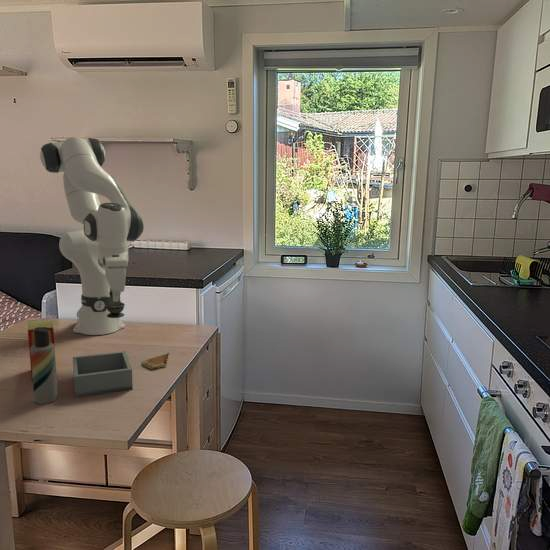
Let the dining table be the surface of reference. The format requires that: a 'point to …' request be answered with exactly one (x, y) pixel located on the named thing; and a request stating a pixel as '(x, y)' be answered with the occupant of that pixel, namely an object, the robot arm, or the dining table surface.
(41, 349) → the lotion bottle
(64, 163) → the robot arm
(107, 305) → the stone chess piece
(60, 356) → the dining table surface
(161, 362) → the shard
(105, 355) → the box
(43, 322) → the baking soda box
